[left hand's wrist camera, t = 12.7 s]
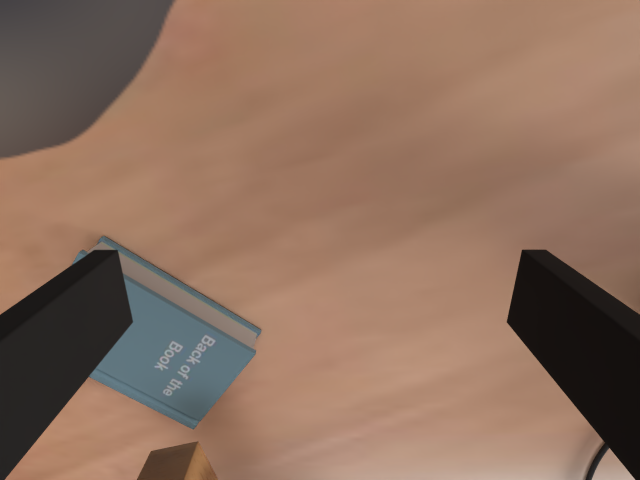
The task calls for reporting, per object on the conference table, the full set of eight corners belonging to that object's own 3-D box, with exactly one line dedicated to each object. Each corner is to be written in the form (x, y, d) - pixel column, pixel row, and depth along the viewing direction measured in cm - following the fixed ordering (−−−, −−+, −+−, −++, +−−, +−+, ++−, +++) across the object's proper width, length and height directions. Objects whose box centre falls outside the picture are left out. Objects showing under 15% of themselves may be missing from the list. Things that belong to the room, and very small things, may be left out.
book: (261, 330, 50) (255, 354, 46) (200, 405, 55) (189, 433, 50) (103, 235, 45) (79, 252, 41) (52, 326, 50) (24, 350, 45)
